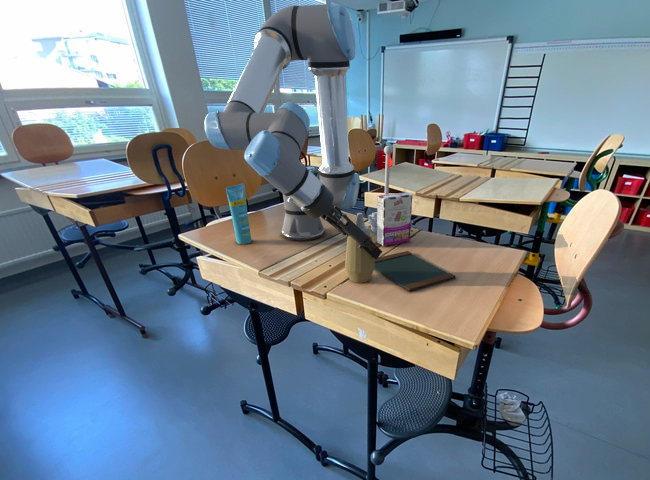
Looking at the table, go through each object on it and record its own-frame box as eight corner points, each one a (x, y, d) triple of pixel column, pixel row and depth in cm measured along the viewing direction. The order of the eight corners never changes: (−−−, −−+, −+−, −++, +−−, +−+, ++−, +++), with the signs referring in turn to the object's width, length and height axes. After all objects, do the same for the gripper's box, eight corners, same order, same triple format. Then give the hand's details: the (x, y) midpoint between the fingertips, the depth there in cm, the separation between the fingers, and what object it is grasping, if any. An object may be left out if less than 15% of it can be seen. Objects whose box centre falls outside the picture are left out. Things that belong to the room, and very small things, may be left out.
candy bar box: (402, 238, 123) (405, 191, 115) (410, 242, 119) (413, 194, 111) (375, 242, 119) (376, 194, 111) (383, 247, 115) (384, 198, 107)
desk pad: (365, 263, 103) (365, 260, 102) (407, 253, 110) (407, 250, 109) (409, 292, 86) (409, 289, 86) (455, 278, 93) (455, 275, 93)
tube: (242, 246, 114) (232, 187, 105) (231, 244, 116) (220, 186, 106) (257, 239, 120) (248, 183, 111) (246, 237, 122) (236, 182, 112)
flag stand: (363, 226, 135) (364, 144, 121) (393, 223, 140) (397, 143, 125) (375, 236, 125) (377, 147, 110) (407, 232, 129) (413, 146, 114)
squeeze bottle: (358, 270, 98) (358, 207, 89) (380, 277, 93) (382, 213, 84) (339, 279, 92) (336, 213, 83) (361, 288, 88) (361, 219, 79)
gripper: (285, 199, 83) (346, 250, 98) (318, 219, 68) (382, 275, 84) (304, 175, 82) (361, 230, 98) (340, 189, 68) (401, 251, 83)
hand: (371, 250), depth 91 cm, fingers closed on squeeze bottle, 6 cm apart
